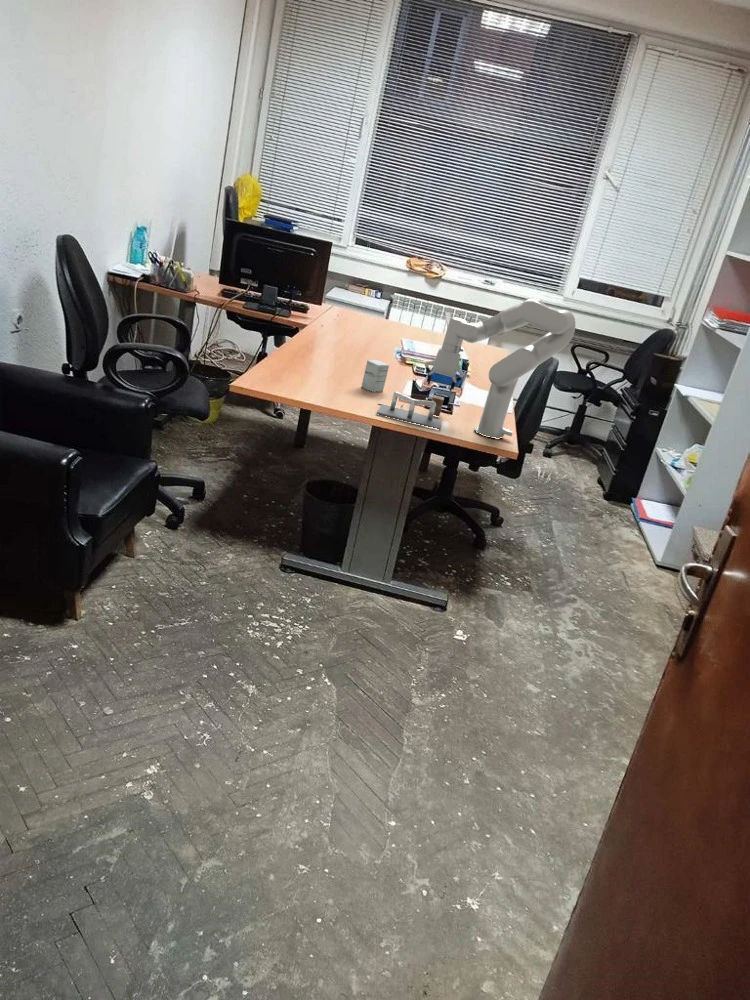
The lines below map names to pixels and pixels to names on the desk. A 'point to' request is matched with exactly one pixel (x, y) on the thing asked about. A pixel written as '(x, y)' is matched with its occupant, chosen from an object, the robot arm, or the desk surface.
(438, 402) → the walnut block
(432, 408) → the grey bridge stand
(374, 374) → the supplement box
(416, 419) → the base
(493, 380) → the robot arm
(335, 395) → the desk surface
